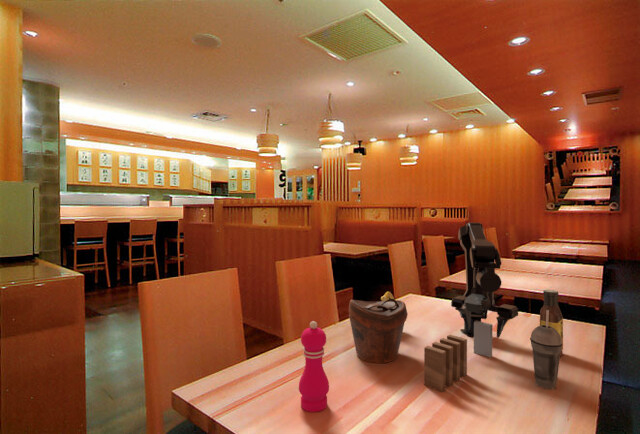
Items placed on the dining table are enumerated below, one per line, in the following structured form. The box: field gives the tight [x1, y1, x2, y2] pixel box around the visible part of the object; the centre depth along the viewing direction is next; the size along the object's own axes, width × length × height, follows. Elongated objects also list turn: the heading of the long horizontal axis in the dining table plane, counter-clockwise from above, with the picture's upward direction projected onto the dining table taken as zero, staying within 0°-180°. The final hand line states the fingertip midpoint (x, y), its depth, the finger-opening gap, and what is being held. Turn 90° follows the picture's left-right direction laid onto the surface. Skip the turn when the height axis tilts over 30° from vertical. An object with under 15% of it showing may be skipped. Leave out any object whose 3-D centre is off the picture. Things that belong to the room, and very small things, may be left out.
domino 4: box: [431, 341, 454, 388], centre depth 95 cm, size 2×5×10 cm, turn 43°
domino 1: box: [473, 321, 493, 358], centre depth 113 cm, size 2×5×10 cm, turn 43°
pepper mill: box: [298, 320, 330, 413], centre depth 85 cm, size 7×7×20 cm
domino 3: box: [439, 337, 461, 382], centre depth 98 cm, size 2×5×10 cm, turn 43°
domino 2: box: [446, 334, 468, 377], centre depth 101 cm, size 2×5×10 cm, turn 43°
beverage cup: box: [529, 310, 564, 390], centre depth 93 cm, size 7×7×20 cm
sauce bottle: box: [539, 289, 564, 357], centre depth 113 cm, size 7×6×20 cm
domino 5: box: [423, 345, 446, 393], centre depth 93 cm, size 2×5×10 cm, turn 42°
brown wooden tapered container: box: [348, 298, 408, 364], centre depth 113 cm, size 18×20×18 cm
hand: (482, 333), depth 113 cm, fingers open, 9 cm apart
